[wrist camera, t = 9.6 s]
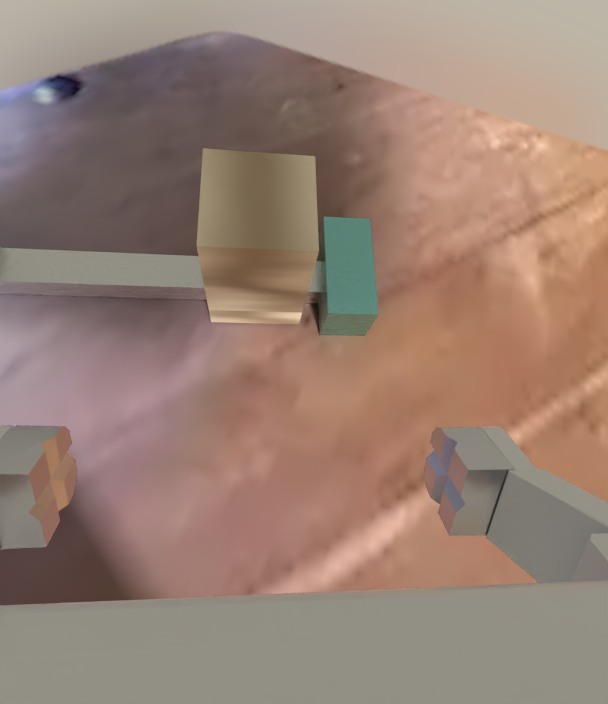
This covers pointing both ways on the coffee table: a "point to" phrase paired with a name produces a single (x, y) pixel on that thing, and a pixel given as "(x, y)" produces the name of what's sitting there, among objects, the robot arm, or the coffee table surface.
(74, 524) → the coffee table surface
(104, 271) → the rail
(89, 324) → the coffee table surface
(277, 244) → the beige slider block
